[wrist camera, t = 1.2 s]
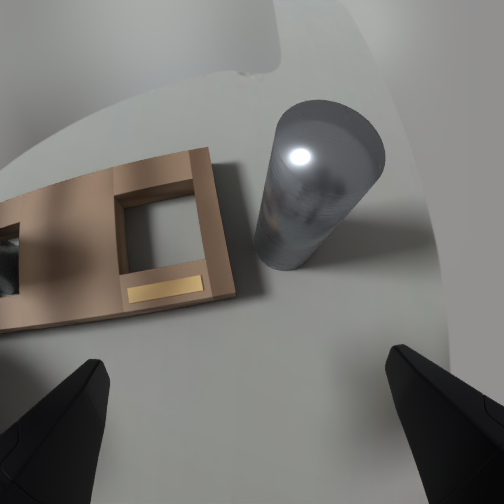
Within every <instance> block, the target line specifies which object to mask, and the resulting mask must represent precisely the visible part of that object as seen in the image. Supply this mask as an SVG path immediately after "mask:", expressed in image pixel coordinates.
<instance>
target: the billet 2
mask: <svg viewBox="0 0 504 504" xmlns="http://www.w3.org/2000/svg"><path fill="white" fill-rule="evenodd" d="M384 166H385V150H384V146H383V143H382V140H381V138H380V136H379V134H378V133H377V131H376V130H375V128H374V127H373V126H372V124H371V123H370V122H369V121H368V120H367V119H366V118H364V117H363V116H362V115H361V114H359V113H358V112H356V111H355V110H353V109H351V108H349V107H347V106H345V105H342V104H340V103H336V102H333V101H327V100H310V101H305V102H301V103H299V104H296V105H294V106H293V107H291V108H290V109H288V110H287V111H286V112H285V113H284V114H283V115H282V117H281V118H280V120H279V122H278V124H277V128H276V132H275V137H274V142H273V147H272V152H271V157H270V162H269V167H268V172H267V177H266V182H265V187H264V192H263V197H262V202H261V207H260V212H259V217H258V221H257V226H256V231H255V236H254V246H255V250H256V253H257V255H258V256H259V258H260V259H261V260H262V262H264V263H265V264H266V265H267V266H269V267H271V268H273V269H276V270H281V271H288V270H293V269H295V268H298V267H299V266H301V265H302V264H303V263H304V262H305V261H306V260H307V259H308V258H309V257H310V256H311V255H312V254H313V253H314V251H315V250H316V249H317V248H318V247H319V246H320V245H321V244H322V243H323V242H324V240H325V239H326V238H327V237H328V236H329V235H330V234H331V233H332V232H333V230H334V229H335V228H336V227H337V226H338V225H339V224H340V223H341V221H342V220H343V219H344V218H345V217H346V216H347V215H348V214H349V212H350V211H351V210H352V209H353V208H354V207H355V206H356V204H357V203H358V202H359V201H360V200H361V199H362V197H363V196H364V195H365V194H366V193H367V192H368V191H369V189H370V188H371V187H372V186H373V185H374V184H375V182H376V181H377V180H378V179H379V177H380V176H381V174H382V172H383V169H384Z"/></svg>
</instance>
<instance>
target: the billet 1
mask: <svg viewBox="0 0 504 504" xmlns="http://www.w3.org/2000/svg"><path fill="white" fill-rule="evenodd" d="M17 291H19V247H18V246H17V245H15V244H13V243H11V242H9V241H7V240H5V239H3V238H1V237H0V292H2V293H6V294H14V293H16V292H17Z"/></svg>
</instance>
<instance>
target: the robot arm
mask: <svg viewBox="0 0 504 504" xmlns="http://www.w3.org/2000/svg"><path fill="white" fill-rule="evenodd" d="M385 371H386V375H387V378H388V382H389V385H390V389H391V393H392V397H393V400H394V404H395V407H396V410H397V413H398V416H399V419H400V421H401V424H402V426H403V429H404V432H405V435H406V437H407V440H408V443H409V445H410V448H411V451H412V454H413V457H414V460H415V462H416V465H417V468H418V471H419V474H420V477H421V480H422V483H423V486H424V489H425V493H426V496H427V499H428V502H429V504H504V406H502V405H500V404H499V403H497V402H495V401H494V400H492V399H490V398H489V397H487V396H486V395H483V394H482V393H481V392H479V391H478V390H476V389H475V388H473V387H471V386H470V385H468V384H466V383H465V382H463V381H462V380H460V379H459V378H457V377H455V376H454V375H452V374H451V373H449V372H448V371H446V370H444V369H443V368H441V367H440V366H438V365H436V364H435V363H433V362H432V361H430V360H428V359H427V358H425V357H424V356H422V355H421V354H419V353H417V352H416V351H414V350H413V349H411V348H409V347H408V346H406V345H404V344H400V345H394V346H392V347H391V349H390V352H389V355H388V358H387V361H386V364H385ZM109 388H110V378H109V376H108V373H107V371H106V368H105V366H104V363H103V362H102V360H99V359H89V360H87V361H86V362H85V363H84V364H83V365H81V366H80V367H79V368H78V369H77V370H75V371H74V372H73V373H72V374H71V375H70V376H68V377H67V378H66V379H65V380H64V381H63V382H61V383H60V384H59V385H58V386H57V387H56V388H54V389H53V390H52V391H51V392H50V393H49V394H47V395H46V396H45V397H44V398H43V399H42V400H41V401H39V402H38V403H37V404H36V405H35V406H34V407H32V408H31V409H30V410H29V411H28V412H27V413H26V414H24V415H23V416H22V417H21V418H20V419H19V420H18V422H15V423H14V424H13V425H12V426H11V427H10V428H8V429H7V430H6V431H5V432H4V433H2V434H1V435H0V504H90V502H91V496H92V490H93V484H94V478H95V472H96V467H97V462H98V457H99V452H100V447H101V442H102V437H103V433H104V428H105V421H106V413H107V404H108V396H109Z"/></svg>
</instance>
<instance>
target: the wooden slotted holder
mask: <svg viewBox="0 0 504 504" xmlns="http://www.w3.org/2000/svg"><path fill="white" fill-rule="evenodd" d="M191 194H195V199H196V205H197V211H198V218H199V224H200V230H201V236H202V242H203V248H204V253H205V259H203V260H198V261H192V262H187V263H182V264H176V265H171V266H166V267H160V268H155V269H150V270H145V271H139V272H134V273H129V264H128V254H127V243H126V231H125V217H124V208H129V207H133V206H138V205H142V204H147V203H151V202H156V201H161V200H166V199H171V198H176V197H181V196H186V195H191ZM17 236H19V292H20V294H18V295H13V296H8V297H3V298H0V333H7V332H16V331H25V330H33V329H41V328H49V327H57V326H64V325H71V324H79V323H86V322H92V321H99V320H106V319H112V318H119V317H125V316H132V315H138V314H144V313H150V312H156V311H162V310H168V309H173V308H179V307H185V306H190V305H196V304H201V303H207V302H212V301H217V300H223V299H228V298H233V297H236V291H235V287H234V282H233V277H232V272H231V267H230V262H229V256H228V251H227V246H226V241H225V236H224V231H223V225H222V220H221V215H220V210H219V204H218V199H217V193H216V188H215V182H214V177H213V171H212V166H211V160H210V155H209V149H208V147H205V148H199V149H194V150H188V151H183V152H178V153H173V154H168V155H163V156H158V157H154V158H149V159H145V160H140V161H136V162H132V163H128V164H124V165H120V166H116V167H112V168H108V169H104V170H100V171H97V172H93V173H89V174H86V175H82V176H79V177H76V178H72V179H69V180H66V181H62V182H59V183H56V184H53V185H50V186H47V187H43V188H40V189H37V190H35V191H32V192H29V193H26V194H23V195H20V196H17V197H15V198H12V199H9V200H7V201H4V202H1V203H0V237H1V238H3V239H5V240H7V239H11V238H14V237H17Z"/></svg>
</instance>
